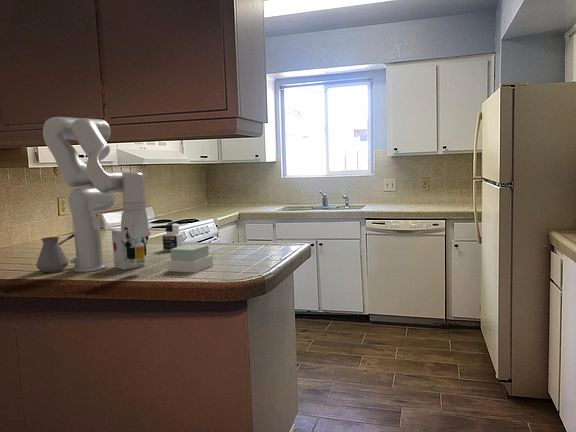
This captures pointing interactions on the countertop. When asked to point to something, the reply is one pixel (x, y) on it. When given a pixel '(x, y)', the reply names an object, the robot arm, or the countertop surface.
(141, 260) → the supplement bottle
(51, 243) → the coffee pot
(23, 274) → the countertop surface
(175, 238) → the medicine bottle
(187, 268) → the block
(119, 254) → the supplement box
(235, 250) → the countertop surface
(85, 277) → the countertop surface
